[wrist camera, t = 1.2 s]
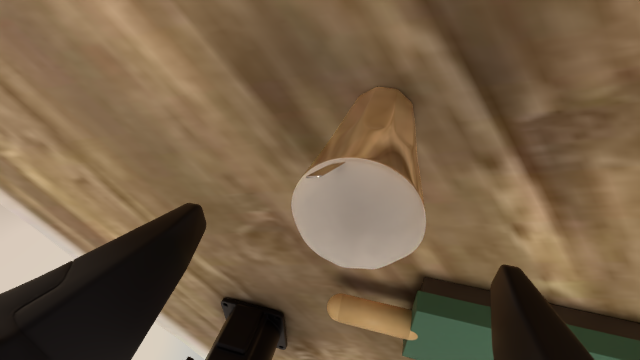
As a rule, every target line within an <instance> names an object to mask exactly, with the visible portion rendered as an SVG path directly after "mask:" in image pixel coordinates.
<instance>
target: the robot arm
mask: <svg viewBox="0 0 640 360" xmlns="http://www.w3.org/2000/svg"><path fill="white" fill-rule="evenodd" d="M205 229H206V220H205V217H204V213H203V210H202V207H201V206H200V205H198V204H193V203H187V204H184V205H182V206H180V207H178V208H176V209H174V210H172V211H170V212H168V213H166V214H164V215H162V216H160V217H158V218H156V219H154V220H152V221H150V222H148V223H146V224H144V225H142V226H140V227H138V228H136V229H134V230H132V231H130V232H128V233H126V234H124V235H122V236H120V237H118V238H116V239H114V240H112V241H110V242H108V243H106V244H104V245H102V246H100V247H98V248H96V249H94V250H92V251H90V252H88V253H86V254H84V255H82V256H80V257H78V258H76V259H75V260H74V261H70V262H68V263H66V264H64V265H62V266H60V267H59V268H56V269H54V270H52V271H50V272H48V273H46V274H44V275H42V276H40V277H38V278H35V279H33V280H31V281H29V282H27V283H24V284H22V285H20V286H18V287H16V288H13V289H11V290H9V291H6V292H4V293H1V294H0V360H131V359H132V357H133V356H134V354H135V352H136V351H137V349H138V347H139V346H140V344H141V343H142V341H143V339H144V338H145V336H146V334H147V332H148V331H149V329H150V328H151V326H152V325H153V323H154V321H155V320H156V318H157V317H158V315H159V313H160V312H161V310H162V308H163V307H164V305H165V304H166V302H167V300H168V299H169V297H170V295H171V294H172V292H173V291H174V289H175V287H176V286H177V284H178V282H179V281H180V279H181V278H182V276H183V274H184V272H185V271H186V269H187V267H188V265H189V263H190V261H191V259H192V257H193V255H194V253H195V250H196V248H197V246H198V244H199V242H200V240H201V238H202V236H203V234H204V232H205ZM490 293H491V335H492V350H493V358H494V360H595V359H594V358H593V357H592V356H591V354H590V353H589V352H588V351H587V350H586V348H585V347H584V346H583V345H582V343H581V342H580V341H579V340H578V339H577V337H576V336H575V335H574V334H573V332H572V331H571V330H570V329H569V328H568V326H567V325H566V324H565V323H564V321H563V320H562V319H561V318H560V317H559V315H558V314H557V313H556V312H555V310H554V309H553V308H552V307H551V306H550V304H549V303H548V302H547V301H546V299H545V298H544V297H543V296H542V295H541V293H540V292H539V291H538V290H537V288H536V287H535V286H534V285H533V284H532V282H531V281H530V280H529V279H528V277H527V276H526V275H525V274H524V273H523V271H522V270H521V269H520V268H518V267H514V266H509V265H502V266H500V268H499V270H498V272H497V274H496V276H495V278H494V280H493V282H492V284H491V291H490ZM221 305H222V308H223V312H224V315H225V318H226V321H225V323H224V325H223V327H222V329H221V331H220V333H219V335H218V336H217V338H216V340H215V342H214V344H213V346H212V348H211V350H210V351H209V353H208V355H207V357H206V359H205V360H272V357H273V355H274V352H275V349H276V348H279V349H283V350H285V349H286V347H287V339H286V329H285V320H284V315H283V314H282V313H281V312H278V311H274V310H270V309H266V308H262V307H258V306H255V305H251V304H247V303H243V302H239V301H235V300H232V299H228V298H223V300H222V301H221ZM187 360H194V359H193V358H191V357H188V358H187Z"/></svg>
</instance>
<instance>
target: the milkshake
mask: <svg viewBox="0 0 640 360" xmlns="http://www.w3.org/2000/svg"><path fill="white" fill-rule="evenodd" d="M291 208H292V213H293V216H294V220H295V223H296V225H297V228H298V230H299V232H300V234H301V236H302V238H303V239H304V241H305V242H306V243H307V245H308V246H309V247H310V248H311V249H312V250H313V251H314V252H315V253H317V254H318V255H319V256H321V257H323V258H324V259H326V260H328V261H330V262H332V263H334V264H336V265H338V266H341V267H345V268H362V269H378V268H381V267H384V266H386V265H389V264H391V263H393V262H395V261H397V260H400V259H402V258H404V257H406V256H408V255H409V254H411V253H412V252H413V251H414V250H416V249H417V247H418V246H419V245H420V243H421V241H422V239H423V237H424V233H425V228H426V215H425V207H424V199H423V192H422V184H421V177H420V171H419V165H418V160H417V146H416V131H415V120H414V113H413V105H412V102H411V101H410V100H409V99H408V98H407V97H405V96H404V95H403V94H402V93H401V92H400V91H399V90H398V89H393V88H385V87H378V86H377V87H375V88H373V89H371V90H369V91H367V92H365V93H364V94H362V95H360V96H359V97H358V98H357V100H356V101H355V103H354V104H353V106H352V107H351V109H350V110H349V112H348V113H347V115H346V116H345V118H344V119H343V121H342V122H341V124H340V125H339V127H338V128H337V130H336V131H335V133H334V134H333V136H332V137H331V139H330V140H329V141H328V143H327V144H326V146H325V147H324V148H323V150H322V151H321V152H320V154H319V155H318V156H317V158H316V159H315V160H314V162H313V163H312V164H311V166H310V167H309V168H308V170H307V171H306V172H305V174H304V175H303V176H302V178H301V179H300V180H299V182H298V183H297V185H296V187H295V190H294V192H293V196H292V202H291Z"/></svg>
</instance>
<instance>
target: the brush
mask: <svg viewBox="0 0 640 360" xmlns="http://www.w3.org/2000/svg"><path fill="white" fill-rule="evenodd" d="M550 306H551V307H552V308H553V309H554V310H555V312H556V313H557V314H558V315H559V317H560V318H561V319H562V320H563V321H564V323H565V324H566V325H567V326H568V328H569V329H570V330H571V331H572V332H573V334H574V335H575V336H576V337H577V339H578V340H579V341H580V342H581V343H582V345H583V346H584V347H585V348H586V350H587V351H588V352H589V353H590V354H591V356H592V357H593V358H594V359H595V360H640V324H639V323H635V322H630V321H626V320H621V319H616V318H612V317H607V316H602V315H598V314H593V313H589V312H584V311H579V310H575V309H570V308H566V307H561V306H556V305H552V304H550ZM327 310H328V313H329V315H330V317H331V318H332V319H333V320H335V321H337V322H340V323H344V324H348V325H352V326H356V327H360V328H364V329H367V330H371V331H375V332H379V333H383V334H387V335H391V336H395V337H398V338H402V339H403V352H402V356H405V357H409V358H412V359H416V360H494V358H493V350H492V335H491V293H490V291H487V290H483V289H478V288H473V287H469V286H464V285H460V284H455V283H450V282H446V281H441V280H437V279H432V278H427V277H425V278H424V280H423V283H422V287H421V290H420V291H417V294H416V297H415V300H414V304H413V307H412V310H409V309H405V308H401V307H397V306H392V305H388V304H384V303H380V302H376V301H371V300H367V299H363V298H359V297H355V296H351V295H346V294H341V293H340V294H335V295H334V296H332V297H331V298H330V300H329V302H328V305H327Z"/></svg>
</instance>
